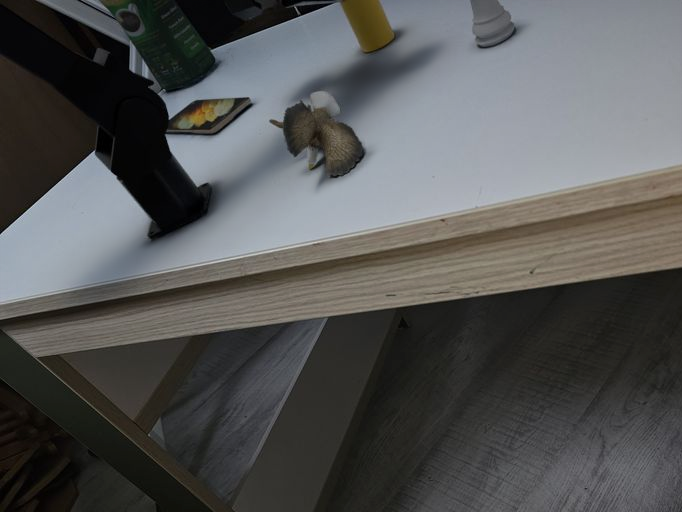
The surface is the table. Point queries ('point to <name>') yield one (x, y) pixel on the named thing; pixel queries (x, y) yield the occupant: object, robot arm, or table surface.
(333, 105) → the eagle figurine
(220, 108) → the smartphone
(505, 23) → the rook chess piece
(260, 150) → the table surface
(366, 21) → the yellow cylindrical tube
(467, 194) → the table surface
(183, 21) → the coffee jar
